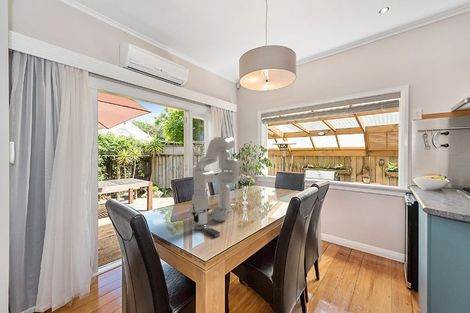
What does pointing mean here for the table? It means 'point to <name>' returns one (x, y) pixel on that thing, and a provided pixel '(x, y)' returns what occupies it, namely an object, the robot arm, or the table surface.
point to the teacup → (219, 213)
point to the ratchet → (207, 230)
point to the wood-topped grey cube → (201, 217)
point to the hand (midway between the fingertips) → (200, 220)
